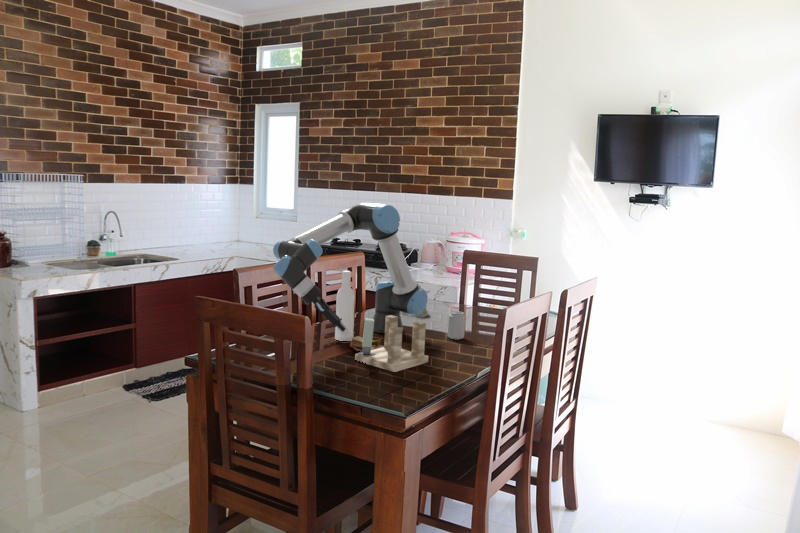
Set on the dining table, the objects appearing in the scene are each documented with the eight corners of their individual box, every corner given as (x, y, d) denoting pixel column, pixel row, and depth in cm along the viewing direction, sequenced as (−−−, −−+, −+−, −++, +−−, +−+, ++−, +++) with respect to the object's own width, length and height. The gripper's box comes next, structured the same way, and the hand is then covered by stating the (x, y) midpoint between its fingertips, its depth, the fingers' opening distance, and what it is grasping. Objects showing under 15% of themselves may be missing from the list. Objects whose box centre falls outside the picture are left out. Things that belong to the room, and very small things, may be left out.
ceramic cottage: (398, 309, 348) (401, 282, 345) (428, 312, 347) (431, 285, 344) (394, 317, 333) (397, 289, 330) (426, 320, 331) (428, 292, 328)
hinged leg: (361, 354, 243) (364, 320, 242) (361, 351, 247) (364, 318, 245) (370, 354, 244) (374, 321, 242) (370, 352, 247) (373, 319, 246)
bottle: (330, 339, 276) (333, 270, 272) (344, 337, 281) (347, 269, 277) (343, 343, 270) (346, 273, 266) (357, 340, 276) (359, 271, 272)
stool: (354, 360, 245) (356, 320, 243) (389, 351, 261) (391, 314, 259) (394, 372, 233) (396, 330, 231) (428, 362, 248) (430, 322, 246)
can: (463, 340, 285) (464, 314, 283) (446, 339, 286) (447, 312, 285) (464, 337, 292) (466, 311, 291) (448, 335, 294) (449, 309, 292)
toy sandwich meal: (375, 355, 255) (376, 343, 254) (345, 350, 260) (345, 339, 259) (387, 348, 266) (388, 337, 266) (358, 344, 271) (358, 333, 271)
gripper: (301, 294, 247) (342, 338, 250) (298, 300, 234) (342, 346, 237) (315, 281, 246) (356, 325, 250) (314, 286, 234) (357, 333, 237)
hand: (350, 335), depth 244 cm, fingers closed
